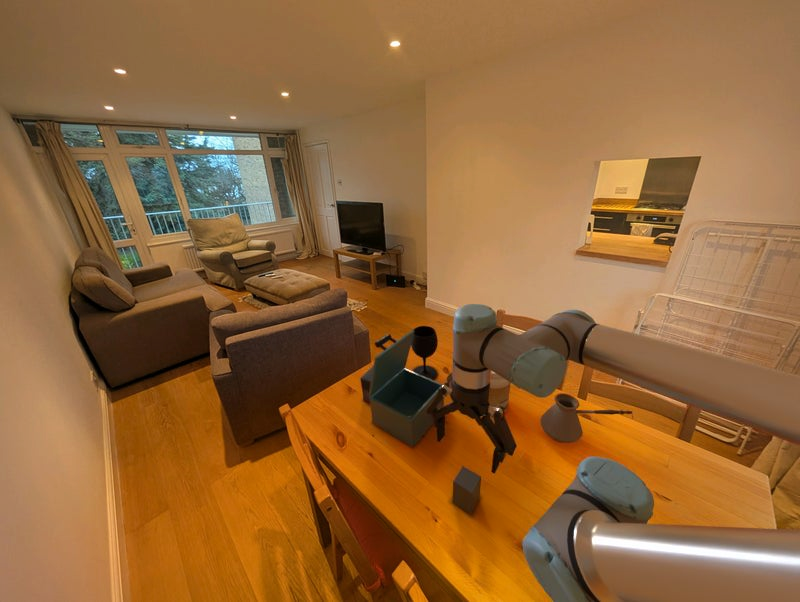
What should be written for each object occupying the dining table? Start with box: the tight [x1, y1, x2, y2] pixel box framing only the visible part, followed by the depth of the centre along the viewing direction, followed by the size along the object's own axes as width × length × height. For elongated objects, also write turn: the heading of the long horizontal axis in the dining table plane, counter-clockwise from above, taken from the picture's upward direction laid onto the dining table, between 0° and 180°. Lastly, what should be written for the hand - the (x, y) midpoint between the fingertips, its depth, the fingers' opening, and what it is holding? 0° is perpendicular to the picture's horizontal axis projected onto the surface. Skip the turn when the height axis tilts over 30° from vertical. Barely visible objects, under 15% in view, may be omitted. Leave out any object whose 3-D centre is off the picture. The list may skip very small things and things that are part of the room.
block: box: [452, 465, 482, 516], centre depth 72 cm, size 5×5×8 cm
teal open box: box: [369, 367, 445, 448], centre depth 97 cm, size 17×19×11 cm
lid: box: [369, 329, 414, 397], centre depth 96 cm, size 17×19×6 cm
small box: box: [359, 364, 374, 404], centre depth 108 cm, size 11×6×10 cm, turn 149°
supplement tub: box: [488, 371, 512, 416], centre depth 100 cm, size 12×12×17 cm
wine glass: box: [410, 325, 439, 381], centre depth 116 cm, size 10×10×20 cm
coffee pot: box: [539, 392, 634, 444], centre depth 85 cm, size 21×12×15 cm, turn 61°
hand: (466, 452), depth 68 cm, fingers open, 13 cm apart
